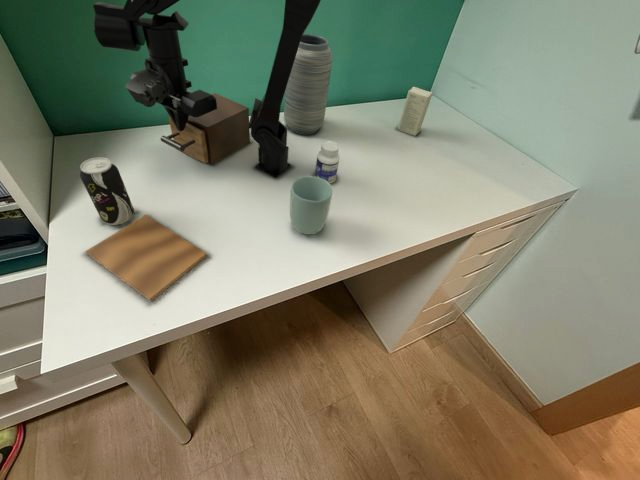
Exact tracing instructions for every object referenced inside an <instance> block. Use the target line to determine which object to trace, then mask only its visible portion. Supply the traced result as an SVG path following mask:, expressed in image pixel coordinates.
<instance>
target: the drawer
mask: <svg viewBox="0 0 640 480" xmlns="http://www.w3.org/2000/svg"><path fill="white" fill-rule="evenodd" d="M168 122H169V126H170V131H171V134H169V135H167V136H166V135H162V136H161V137H160V141H161V142H162V143H164V144H166V145H168V146H170V147H172V148H174V149H176V150H177V151H179V152H182V153H184V154H186V155H188V156H190V157H192V158H194V159H195V160H198V161H200V162H201V163H203V164H207V163H209V162H208V161H209V160H208V156H209V150H208V143H207V136H206V129H204V128H201V127H199V126H197V125H195V124H193V123H191V122H189V121H187V123H186V126H185V129H184V130H183V131H181V132H180V131H178V130H177V128H176V126H175V124H174V123H173V121H172V119H171V118H170V116H168Z"/></svg>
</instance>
